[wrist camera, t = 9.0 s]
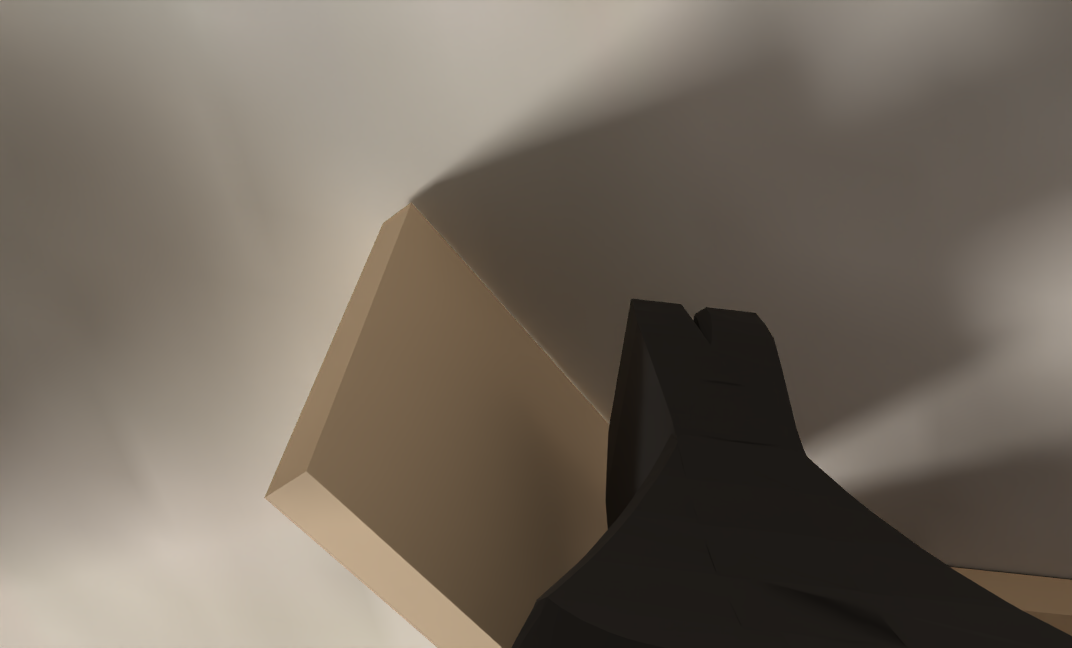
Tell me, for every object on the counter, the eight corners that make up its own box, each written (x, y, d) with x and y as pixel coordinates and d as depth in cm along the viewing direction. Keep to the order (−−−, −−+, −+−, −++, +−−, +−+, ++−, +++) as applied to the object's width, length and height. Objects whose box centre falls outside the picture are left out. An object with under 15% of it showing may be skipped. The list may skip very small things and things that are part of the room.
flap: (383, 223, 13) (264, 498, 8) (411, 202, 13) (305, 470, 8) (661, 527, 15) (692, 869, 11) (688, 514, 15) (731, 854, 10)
